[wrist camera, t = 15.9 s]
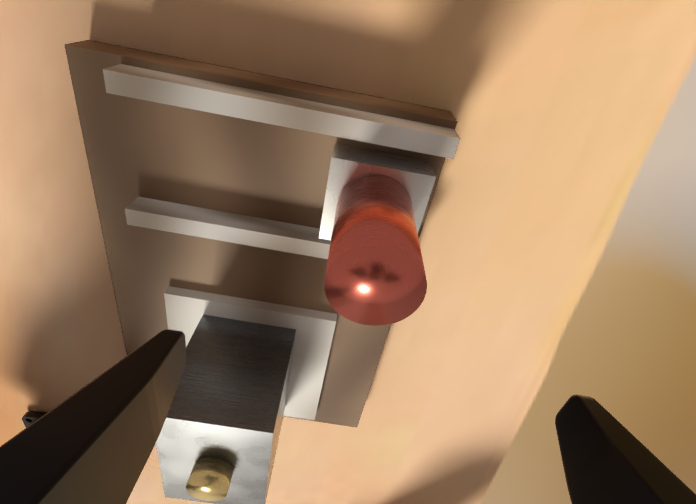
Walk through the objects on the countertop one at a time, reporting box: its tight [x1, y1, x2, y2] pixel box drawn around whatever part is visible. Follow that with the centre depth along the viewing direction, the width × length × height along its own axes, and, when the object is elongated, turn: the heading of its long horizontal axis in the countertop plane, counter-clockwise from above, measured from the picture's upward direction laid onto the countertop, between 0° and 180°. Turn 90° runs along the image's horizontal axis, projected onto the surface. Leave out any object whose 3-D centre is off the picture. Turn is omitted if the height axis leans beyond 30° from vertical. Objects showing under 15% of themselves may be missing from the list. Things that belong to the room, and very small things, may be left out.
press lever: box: [319, 143, 436, 326], centre depth 14 cm, size 4×4×7 cm
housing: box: [156, 315, 296, 504], centre depth 20 cm, size 5×7×7 cm
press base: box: [65, 40, 460, 427], centre depth 21 cm, size 15×21×3 cm
